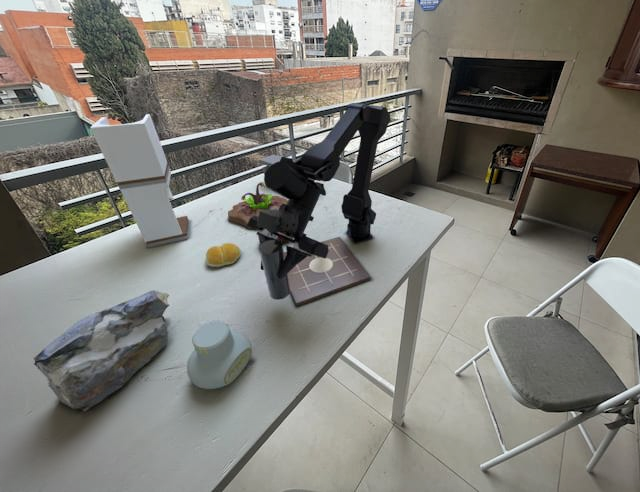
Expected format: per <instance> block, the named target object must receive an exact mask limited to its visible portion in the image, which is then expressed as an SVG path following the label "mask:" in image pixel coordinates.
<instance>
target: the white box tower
mask: <svg viewBox="0 0 640 492" xmlns="http://www.w3.org/2000/svg"><path fill="white" fill-rule="evenodd" d="M89 129H90V131H91V133H92V135H93V137H94V139H95V141H96V143H97V145H98V147H99V151H100V152H101V153H102V156H103V158H104V161H105V162H106V165H107V166H108V168H109V171H110V172H111V174H112V176H113V178H114V180H115V182H116V185H117V187H118V188H119V191H120V192H121V194H122V197H123V198H124V201H125V203H126V205H127V207H128V209H129V211H130V213H131V215H132V217H133V219H134V221H135V223H136V225H137V227H138V230H139V231H140V233H141V235H142V238H143V240H144V242H145V244H146V246H147V248H152V247H156V246H161V245H167V244H171V243H175V242H179V241H184V240H189V234H190V233H189V232H190V231H189V230H190V220H189V217H188V215H184V216H179V217H177V215H176V213H175V211H174V208H173V206H172V203H171V201H172V200H174V196H173V193H172V191H171V188H170V181H171V175H172V171H171V169H170V165H169V163H168V159H167V157H166V155H165V151H164V149H163V146H162V144H161V141H160V138H159V135H158V131H157V130H156V127H155V124H154V122H153V119H152V116H151V114H150V113H146V114H145V116H144V117H143V118H142V119H141V120H138V121H135V122H129V123H121V124H110V122H109V120H108V118H107V116H104V117H103V116H102V117H100V119H98V120H97V121H96V122H94V123H93V124H92V125H91V126H90V127H89Z"/></svg>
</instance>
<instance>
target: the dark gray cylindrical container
mask: <svg viewBox="0 0 640 492" xmlns="http://www.w3.org/2000/svg"><path fill="white" fill-rule="evenodd" d="M258 252H259V256H260V261H261V260H262V265H263V269H264V270H263V272H264V277H265V281H266V286H267V290H268V293H269V297H270V298H271V299H273V300H276V301H279V300H283V299H286V298H287V297H288V296H289V295H290V294H291V291H290V284H289V279H288V273H287V274H286V275H285V276H284V277H283V278H282V279H278V278H277V277H278V274H279V271H280V268H281V266H282V264H283V262H284V259H285V256H284V252H285V251H284V245H283V243H281V242H280V241H278V240H268V241H265V242H264V243H262V244H259V247H258Z"/></svg>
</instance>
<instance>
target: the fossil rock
mask: <svg viewBox="0 0 640 492" xmlns="http://www.w3.org/2000/svg"><path fill="white" fill-rule="evenodd" d="M169 296H170V295H169V293H167V292H161V291H159V290H149V291H147V292H145V293H144V294H142V295H139V296H136V297H134V298H130V299H128V300H125V301H123V302H120V303H119V304H117V305H116V304H115V305H113V306H110V307H107V308H105V309H103V310H101V311H97V312H95V313H92V314H90V315H88V316H85V317H84V318H82V319H80V320H78V321H77V322H76V323H74V324H73V325H72V326H70V327H69V329H67V330H66V331H65V332H63V333H62V334H61V335H59V336H58V337H57V338H55V339H54V340H53V341H52V342H50V343H49V344H48V345H47V346H46V347H45V348H43V349H42V350H41V351H40V352H39V353H38V354H37V355H35V356H34V357H33V360H34V363H33V365H34V366H35V367H36V368H37V369H38V371H40V372H41V374H42V375H43V376H45V378H46V379H47V381H48V383H47V385H48V387H49V388H50V389H51V390H52V392H53V393H54V395H55V396H56V397H57V399H58V401H60V402H61V403H62V404H64V405H66V407H67V406H68V407H70V408H71V409H72V410H75V409H79V410H82V411H83V412H84V413H86V412H88V411H89V410H90V409H91V408H92V407H95V406H96V405H98V404H100V403H101V402H102V401H103V400H105V399H106V398H107V397H109V396H110V395H112V394H113V393H115V392H116V391H118V390H119V389H121V388H122V387H124V386H125V385H126V383H127V382H129V381H130V380H131V378H132V377H133V376H134V375H135V374H137V372H138V371H139V370H140V369H141V368H143V367H144V366H146V364H148V363H150V362H151V361H152V359H153V358H154V357H155V356H156V355H157V354H158V353H159V352H160V351H162V349H165V347H166V345H167V343H168V336H169V335H168V334H169V332H168V328H167V323H166V318H165V316H164V313H165V312H166V309H167V308H169V307H170V304H169V301H168V298H169Z"/></svg>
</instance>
